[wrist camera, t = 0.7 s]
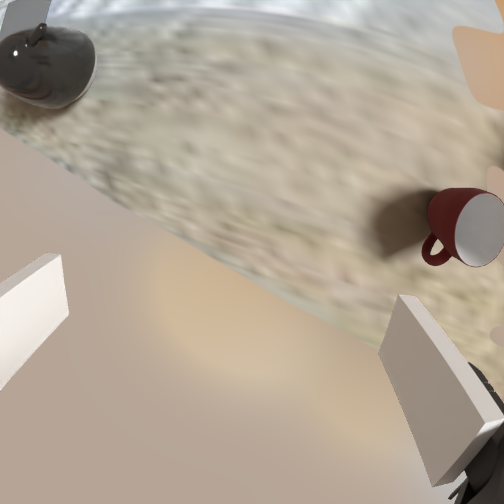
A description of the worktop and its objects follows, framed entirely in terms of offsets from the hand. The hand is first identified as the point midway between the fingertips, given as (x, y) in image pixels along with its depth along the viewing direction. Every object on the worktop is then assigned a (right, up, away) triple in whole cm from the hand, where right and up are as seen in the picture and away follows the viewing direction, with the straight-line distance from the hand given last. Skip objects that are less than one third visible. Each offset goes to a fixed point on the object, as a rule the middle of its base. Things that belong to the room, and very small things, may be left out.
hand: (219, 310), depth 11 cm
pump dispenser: (-21, +25, +21) cm, 39 cm away
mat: (-33, +35, +17) cm, 51 cm away
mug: (+25, +6, +25) cm, 36 cm away
